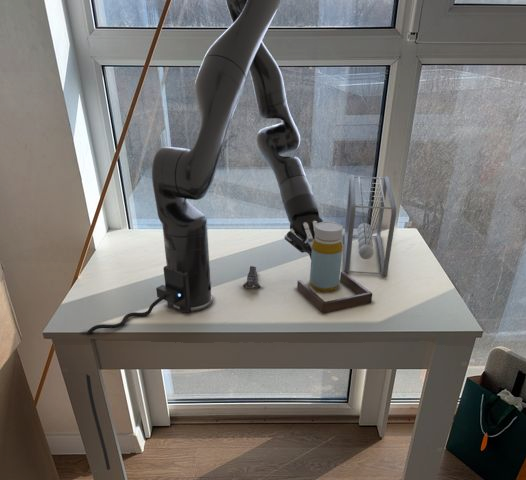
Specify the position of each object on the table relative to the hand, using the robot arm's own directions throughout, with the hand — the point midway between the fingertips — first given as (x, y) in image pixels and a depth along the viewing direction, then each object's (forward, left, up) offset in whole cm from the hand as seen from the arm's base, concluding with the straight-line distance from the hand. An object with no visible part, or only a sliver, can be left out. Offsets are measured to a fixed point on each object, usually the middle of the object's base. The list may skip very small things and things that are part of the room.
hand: (319, 265), depth 122 cm
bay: (-4, -6, -4) cm, 9 cm away
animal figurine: (-11, +12, -5) cm, 17 cm away
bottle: (-1, -2, -5) cm, 5 cm away
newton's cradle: (+22, -1, -5) cm, 22 cm away
